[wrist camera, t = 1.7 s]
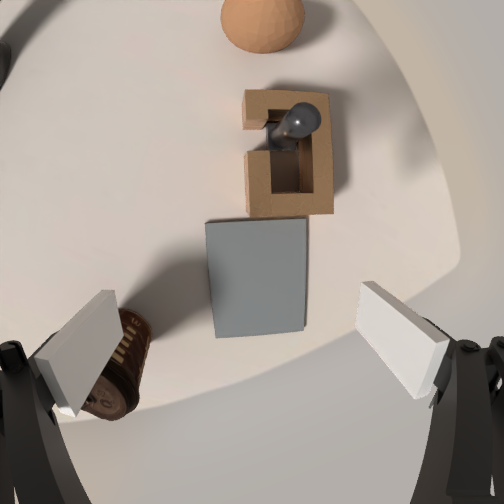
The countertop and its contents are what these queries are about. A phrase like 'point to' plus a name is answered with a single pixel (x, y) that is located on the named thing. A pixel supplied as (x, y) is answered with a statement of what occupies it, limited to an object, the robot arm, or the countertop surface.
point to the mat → (257, 276)
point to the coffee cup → (121, 371)
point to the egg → (262, 23)
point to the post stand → (293, 127)
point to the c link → (310, 157)
